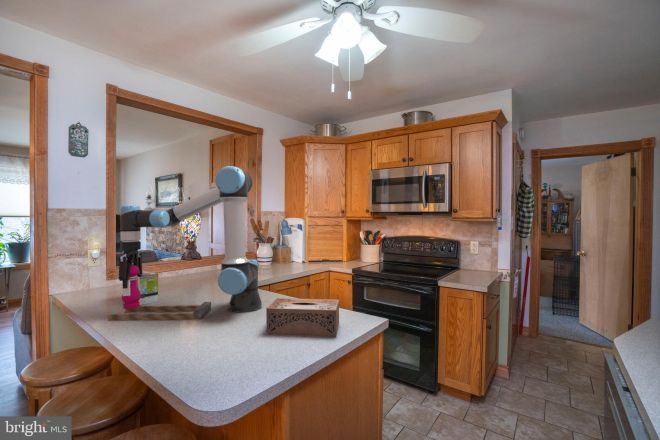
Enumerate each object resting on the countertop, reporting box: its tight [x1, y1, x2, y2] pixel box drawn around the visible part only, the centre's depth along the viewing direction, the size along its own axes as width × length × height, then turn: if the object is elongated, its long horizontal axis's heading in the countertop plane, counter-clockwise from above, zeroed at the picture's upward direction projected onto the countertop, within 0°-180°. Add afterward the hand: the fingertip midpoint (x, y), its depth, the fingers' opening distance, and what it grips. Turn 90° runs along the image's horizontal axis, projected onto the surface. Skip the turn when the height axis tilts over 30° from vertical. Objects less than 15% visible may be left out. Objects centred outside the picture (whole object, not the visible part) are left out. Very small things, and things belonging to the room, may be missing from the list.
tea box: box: [139, 270, 159, 306], centre depth 162 cm, size 15×10×15 cm, turn 58°
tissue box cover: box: [265, 297, 340, 338], centre depth 122 cm, size 26×14×10 cm, turn 84°
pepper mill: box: [121, 264, 141, 310], centre depth 138 cm, size 7×7×20 cm
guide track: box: [107, 301, 212, 322], centre depth 139 cm, size 38×13×4 cm, turn 92°
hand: (131, 293), depth 138 cm, fingers closed on pepper mill, 6 cm apart
